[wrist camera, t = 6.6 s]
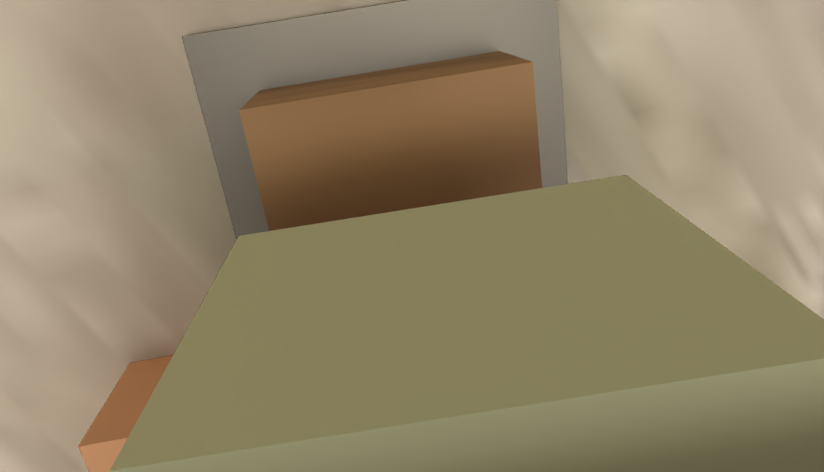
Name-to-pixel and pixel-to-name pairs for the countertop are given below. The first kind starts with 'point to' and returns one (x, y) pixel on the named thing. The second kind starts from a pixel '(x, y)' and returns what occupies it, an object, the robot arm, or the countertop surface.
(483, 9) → the build plate
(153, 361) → the terracotta brick
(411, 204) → the walnut brick
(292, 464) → the sage brick
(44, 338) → the countertop surface
